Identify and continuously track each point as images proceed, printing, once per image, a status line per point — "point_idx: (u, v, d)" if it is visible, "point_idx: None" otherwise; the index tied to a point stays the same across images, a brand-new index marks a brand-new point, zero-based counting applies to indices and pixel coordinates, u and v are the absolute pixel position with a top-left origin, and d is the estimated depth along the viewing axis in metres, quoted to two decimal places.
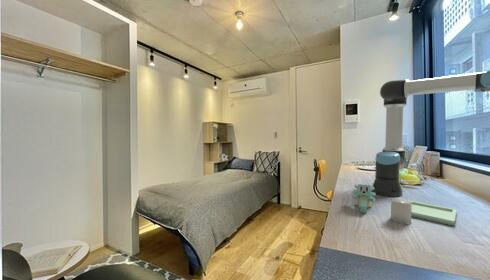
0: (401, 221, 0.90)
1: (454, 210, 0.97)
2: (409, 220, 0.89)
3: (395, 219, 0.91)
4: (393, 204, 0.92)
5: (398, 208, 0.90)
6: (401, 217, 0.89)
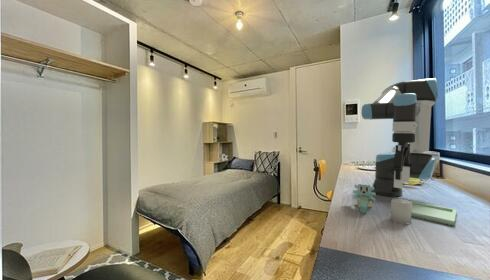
0: (401, 221, 0.90)
1: (454, 210, 0.97)
2: (409, 220, 0.89)
3: (395, 219, 0.91)
4: (393, 204, 0.92)
5: (398, 208, 0.90)
6: (401, 217, 0.89)
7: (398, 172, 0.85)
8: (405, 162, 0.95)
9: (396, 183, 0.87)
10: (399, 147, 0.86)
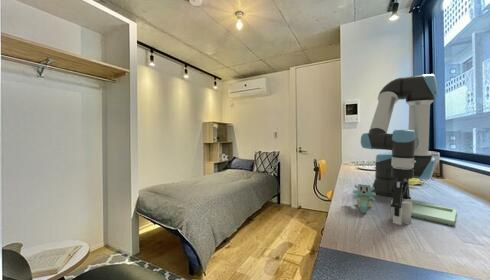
0: (401, 221, 0.90)
1: (454, 210, 0.97)
2: (409, 220, 0.89)
3: None
4: None
5: None
6: None
7: (397, 209, 0.86)
8: (404, 195, 0.96)
9: (395, 219, 0.88)
10: (398, 184, 0.87)
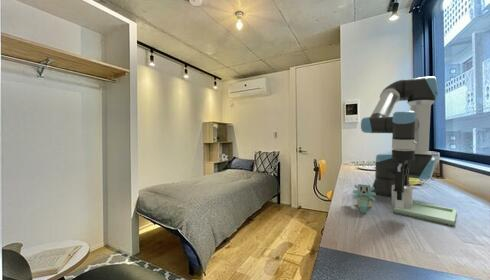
0: None
1: (454, 210, 0.97)
2: (410, 205, 0.89)
3: None
4: None
5: None
6: None
7: (399, 193, 0.88)
8: (403, 181, 0.94)
9: (397, 203, 0.90)
10: (398, 169, 0.87)
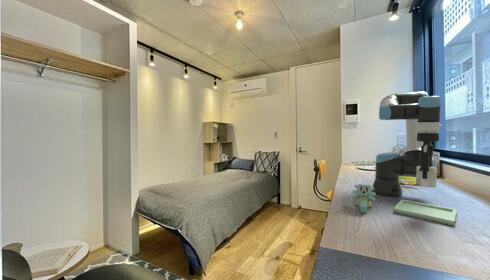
0: None
1: (454, 210, 0.97)
2: (435, 184, 0.95)
3: None
4: None
5: None
6: None
7: (425, 172, 0.94)
8: None
9: (423, 182, 0.96)
10: (425, 149, 0.93)
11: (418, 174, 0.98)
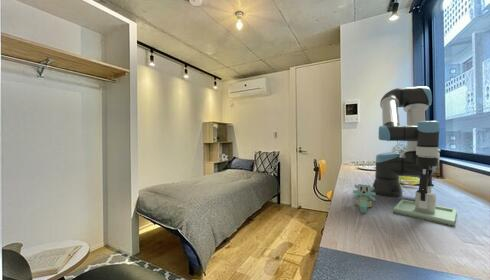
0: (426, 211, 0.97)
1: (454, 210, 0.97)
2: (433, 210, 0.96)
3: (420, 209, 0.98)
4: (418, 196, 0.99)
5: None
6: None
7: (423, 194, 0.93)
8: (427, 182, 1.03)
9: (421, 204, 0.95)
10: (424, 171, 0.94)
11: (417, 200, 0.99)
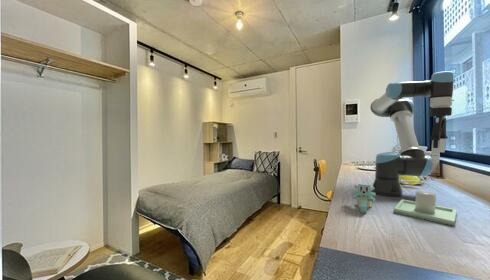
0: (426, 211, 0.97)
1: (454, 210, 0.97)
2: (433, 210, 0.96)
3: (420, 209, 0.98)
4: (418, 196, 0.99)
5: (423, 199, 0.97)
6: (426, 207, 0.96)
7: (436, 141, 0.97)
8: (441, 134, 1.06)
9: (434, 151, 0.99)
10: (437, 119, 0.97)
11: (417, 200, 0.99)
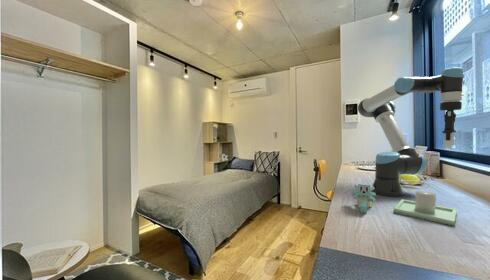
0: (426, 211, 0.97)
1: (454, 210, 0.97)
2: (433, 210, 0.96)
3: (420, 209, 0.98)
4: (418, 196, 0.99)
5: (423, 199, 0.97)
6: (426, 207, 0.96)
7: (448, 134, 1.00)
8: None
9: (446, 144, 1.02)
10: (449, 113, 1.01)
11: (417, 200, 0.99)
